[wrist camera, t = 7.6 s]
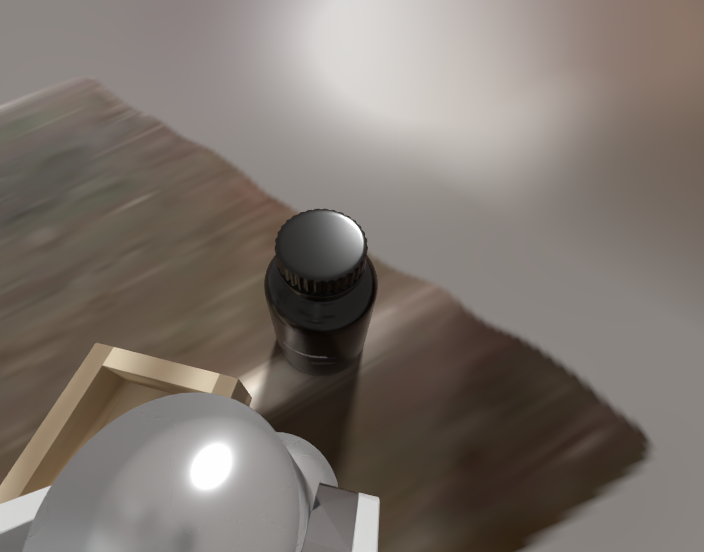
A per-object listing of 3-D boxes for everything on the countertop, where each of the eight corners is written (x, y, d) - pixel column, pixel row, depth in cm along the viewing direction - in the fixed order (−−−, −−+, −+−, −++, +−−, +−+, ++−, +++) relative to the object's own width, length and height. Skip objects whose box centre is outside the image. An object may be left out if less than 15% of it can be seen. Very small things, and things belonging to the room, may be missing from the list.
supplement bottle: (288, 390, 26) (262, 315, 16) (271, 308, 29) (241, 205, 19) (377, 364, 27) (406, 281, 17) (351, 290, 31) (362, 184, 21)
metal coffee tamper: (180, 576, 12) (-235, 780, 3) (237, 426, 15) (102, 303, 6) (318, 617, 12) (301, 982, 3) (352, 457, 15) (400, 378, 6)
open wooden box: (40, 517, 21) (-23, 519, 17) (129, 366, 26) (96, 342, 22) (189, 562, 20) (158, 574, 17) (251, 397, 25) (238, 378, 22)
